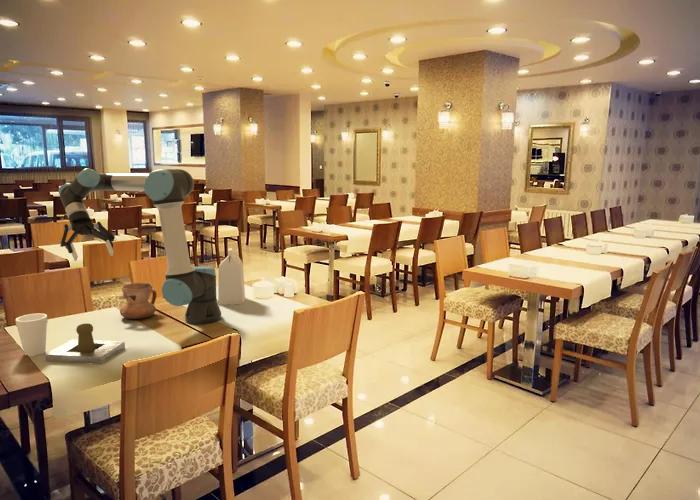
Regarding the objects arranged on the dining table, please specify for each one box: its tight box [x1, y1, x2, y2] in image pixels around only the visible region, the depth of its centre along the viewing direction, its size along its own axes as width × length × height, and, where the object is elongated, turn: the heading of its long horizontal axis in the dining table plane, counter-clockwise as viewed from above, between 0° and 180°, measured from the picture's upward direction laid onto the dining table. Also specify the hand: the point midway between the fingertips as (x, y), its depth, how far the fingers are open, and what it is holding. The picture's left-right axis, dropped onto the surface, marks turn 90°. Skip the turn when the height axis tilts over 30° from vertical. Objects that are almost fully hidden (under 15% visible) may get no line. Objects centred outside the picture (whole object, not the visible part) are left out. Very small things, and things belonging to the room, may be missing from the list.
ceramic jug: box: [118, 282, 157, 320], centre depth 219 cm, size 18×14×14 cm
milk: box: [217, 247, 246, 306], centre depth 244 cm, size 12×12×26 cm
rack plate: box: [44, 338, 126, 365], centre depth 176 cm, size 20×15×2 cm
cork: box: [75, 323, 96, 353], centre depth 175 cm, size 6×6×11 cm
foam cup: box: [15, 312, 48, 357], centre depth 176 cm, size 10×9×13 cm
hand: (94, 256), depth 199 cm, fingers open, 13 cm apart
